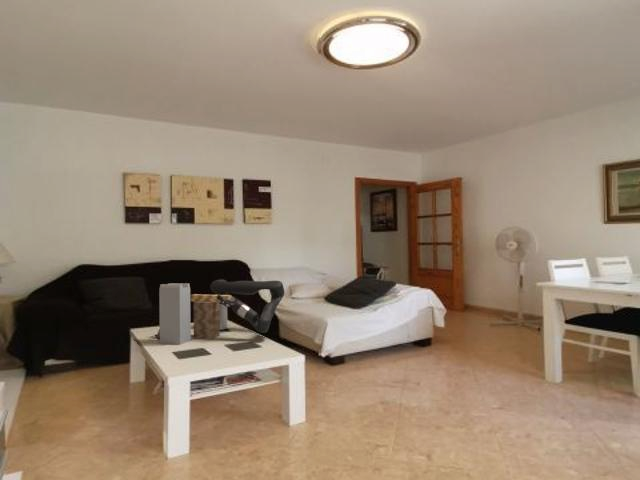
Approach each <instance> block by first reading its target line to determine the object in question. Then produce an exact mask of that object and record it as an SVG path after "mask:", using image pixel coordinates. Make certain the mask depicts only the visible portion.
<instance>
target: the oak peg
mask: <svg viewBox="0 0 640 480" xmlns="http://www.w3.org/2000/svg"><path fill="white" fill-rule="evenodd" d="M217 296H218V295H216V294H201V293H200V294H197V293H194V294H190V302H221V301H220V300H219V299H217ZM220 296H221V297H223V298H225V299H231V296H232V295H231V294H228V295H220ZM225 301H226V300H225Z"/></svg>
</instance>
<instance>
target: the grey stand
mask: <svg viewBox="0 0 640 480" xmlns="http://www.w3.org/2000/svg"><path fill="white" fill-rule="evenodd" d="M159 285H160V286H159V288H158V289H159V294H158V296H159V328H160V339H159V344H169V345H182V344H185V343H189V342H191V338H192V337H191V334H192V333H191V332H192V331H191V325H192V324H191V287H190V283H167V284H166V283H164V284H163V283H162V284H159Z"/></svg>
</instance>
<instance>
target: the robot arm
mask: <svg viewBox="0 0 640 480" xmlns="http://www.w3.org/2000/svg"><path fill="white" fill-rule="evenodd" d="M210 290H211V292H212V293H214V294H215V295H218V296H217V299H219V300H220V301H221V302H219V308H220V330H221V331H222V330H226V329H228V308H231V311H232V312H234V314H236V315H238V316H240V318H242V319H244V320H246V321H247V322H249V323H250V325H251V326H252V327H253V328H254V329H255V330H256V331H258V332H259V333H261V334H264V333H265V334H266V333H267V332H268V331H269V329H270V325H271V322H272V319H273V317H274V315H275V311H276V310H277V307H278V306H279V304H280V303H281V302H282V300H283V298H284V296H285V294H286V293H285V287H284V284H283V282H282V281H280V280H265V281H260V280H259V281H258V280H256V281H255V280H236V281H227V280H225V279H216V280H213V282H211V284H210ZM262 290H268V291H269V294H270V296H271V297H270V298H271V299H270V301H269V302H267V303H266V304H265V305H264V307H263V309H262V311H261V312H262V313H261V314H260V316H259V313H258V312H256V310H254V309H253V308H251V307H250V306H249V305H248V304H246V303H244V302H243V301H242V300H240V299H239V298H237V297H235V295H236V294H237V295H245V296H246V295H247V296H249V295H250V296H252V295H255V294H256V293H258V292H260V291H262ZM229 294H235V295H234V296H232V295H231V299H225V298H223V297H221V296H220V295H229ZM225 300H226V301H225Z"/></svg>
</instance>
